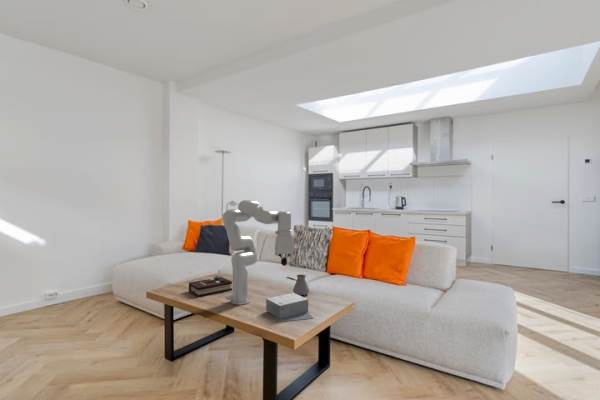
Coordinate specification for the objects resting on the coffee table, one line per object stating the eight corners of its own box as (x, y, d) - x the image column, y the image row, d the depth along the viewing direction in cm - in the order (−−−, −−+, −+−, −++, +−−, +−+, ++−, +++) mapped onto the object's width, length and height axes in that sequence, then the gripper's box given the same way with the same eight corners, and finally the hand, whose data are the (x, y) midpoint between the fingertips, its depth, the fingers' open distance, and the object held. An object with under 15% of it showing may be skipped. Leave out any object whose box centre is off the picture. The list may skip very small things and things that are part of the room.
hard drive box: (279, 319, 170) (308, 311, 181) (279, 305, 170) (308, 298, 181) (265, 311, 183) (293, 304, 194) (265, 298, 183) (293, 292, 194)
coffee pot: (299, 290, 224) (300, 269, 224) (312, 293, 217) (312, 272, 217) (279, 298, 207) (279, 275, 207) (292, 301, 200) (292, 278, 200)
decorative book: (184, 281, 220) (223, 275, 240) (184, 292, 220) (223, 284, 240) (195, 287, 206) (235, 280, 225) (195, 299, 206) (235, 290, 225)
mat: (277, 322, 167) (277, 321, 167) (271, 310, 184) (271, 310, 184) (313, 318, 172) (313, 317, 172) (304, 307, 190) (304, 306, 189)
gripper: (272, 234, 171) (272, 267, 171) (298, 233, 175) (298, 266, 175) (270, 232, 178) (269, 264, 178) (295, 232, 182) (294, 263, 183)
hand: (284, 265), depth 177 cm, fingers closed
